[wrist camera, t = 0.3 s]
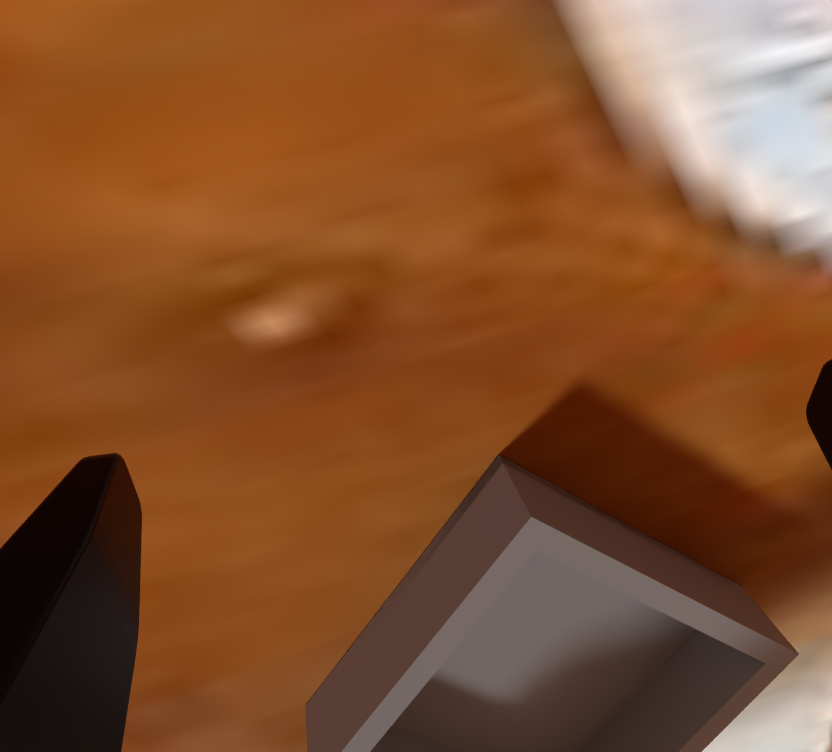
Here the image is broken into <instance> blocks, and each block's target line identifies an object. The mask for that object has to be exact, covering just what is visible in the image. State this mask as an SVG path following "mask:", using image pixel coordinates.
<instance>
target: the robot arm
mask: <svg viewBox="0 0 832 752" xmlns="http://www.w3.org/2000/svg"><path fill="white" fill-rule="evenodd" d="M806 416H807V421H808V424H809V426H810V428H811V430H812V432H813V434H814V436H815V438H816V440H817V442H818V444H819V446H820V448H821V450H822V452H823V454H824V456H825V458H826V460H827V462H828V464H829V466H830V468H831V470H832V359H831V360H829V361H827V362H826V363H825V364H824V365H823V367H822V369H821V372H820V374H819V377H818V379H817V381H816V384H815V386H814V389H813V391H812V394H811V396H810V399H809V401H808V404H807V408H806ZM141 533H142V512H141V505H140V501H139V498H138V495H137V492H136V490H135V487H134V484H133V482H132V479H131V476H130V474H129V471H128V469H127V466H126V463H125V461H124V459H123V458H122V457H121V455H119V454H116V453H111V454H103V455H96V456H88V457H85V458H83V459H82V460H80V461H79V462H78V463H77V464H76V465H75V466H74V467H73V469H72V470H71V471H70V472H69V473H68V474H67V475H66V476H65V477H64V479H63V480H62V481H61V482H60V483H59V484H58V485H57V486H56V487H55V489H54V490H53V491H52V492H51V493H50V494H49V495H48V496H47V497H46V499H45V500H44V501H43V502H42V503H41V504H40V505H39V506H38V507H37V508H36V510H35V511H34V512H33V513H32V514H31V515H30V516H29V517H28V518H27V520H26V521H25V522H24V523H23V524H22V525H21V526H20V527H19V528H18V530H17V531H16V532H15V533H14V534H13V535H12V536H11V537H10V538H9V539H8V541H7V542H6V543H5V544H4V545H3V546H2V547H1V548H0V752H121V749H122V742H123V736H124V729H125V723H126V716H127V710H128V703H129V696H130V690H131V683H132V677H133V670H134V664H135V657H136V649H137V641H138V630H139V604H140V568H141Z"/></svg>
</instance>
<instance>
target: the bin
mask: <svg viewBox="0 0 832 752" xmlns="http://www.w3.org/2000/svg"><path fill="white" fill-rule="evenodd" d="M798 655H799V653H798V652H797V651H796V650H795V649H794V648H793V646H792V645H791V644H790V643H789V642H788V640H787V639H786V638H785V637H784V636H783V635H782V633H781V632H780V631H779V630H778V629H777V627H776V626H775V625H774V624H773V623H772V621H771V620H770V619H769V618H768V617H767V616H766V614H765V613H764V612H763V611H762V610H761V608H760V607H759V606H758V605H757V604H756V603H755V601H754V600H753V599H752V598H751V597H750V595H749V594H748V593H747V592H746V591H745V590H744V588H743V587H742V586H740V585H738V584H736V583H734V582H733V581H731V580H729V579H727V578H725V577H723V576H721V575H720V574H718V573H716V572H714V571H712V570H710V569H709V568H707V567H705V566H703V565H701V564H699V563H697V562H696V561H694V560H692V559H690V558H688V557H686V556H685V555H683V554H681V553H679V552H677V551H675V550H673V549H672V548H670V547H668V546H666V545H664V544H662V543H661V542H659V541H657V540H655V539H653V538H651V537H649V536H648V535H646V534H644V533H642V532H640V531H638V530H636V529H635V528H633V527H631V526H629V525H627V524H625V523H624V522H622V521H620V520H618V519H616V518H614V517H612V516H611V515H609V514H607V513H605V512H603V511H601V510H600V509H598V508H596V507H594V506H592V505H590V504H588V503H587V502H585V501H583V500H581V499H579V498H577V497H576V496H574V495H572V494H570V493H568V492H566V491H564V490H563V489H561V488H559V487H557V486H555V485H553V484H551V483H550V482H548V481H546V480H544V479H542V478H540V477H539V476H537V475H535V474H533V473H531V472H529V471H527V470H526V469H524V468H522V467H520V466H518V465H516V464H515V463H513V462H511V461H509V460H507V459H505V458H503V457H502V456H500V455H498V456H497V458H496V459H495V460H494V462H493V463H492V464H491V466H490V467H489V468H488V469H487V471H486V472H485V473H484V475H483V476H482V477H481V479H480V480H479V481H478V482H477V484H476V485H475V486H474V488H473V489H472V490H471V492H470V493H469V494H468V495H467V497H466V498H465V499H464V501H463V502H462V503H461V504H460V506H459V507H458V508H457V510H456V511H455V512H454V514H453V515H452V516H451V517H450V519H449V520H448V521H447V523H446V524H445V525H444V527H443V528H442V529H441V530H440V532H439V533H438V534H437V536H436V537H435V538H434V540H433V541H432V542H431V543H430V545H429V546H428V547H427V549H426V550H425V551H424V553H423V554H422V555H421V556H420V558H419V559H418V560H417V562H416V563H415V564H414V566H413V567H412V568H411V569H410V571H409V572H408V573H407V575H406V576H405V577H404V579H403V580H402V581H401V582H400V584H399V585H398V586H397V588H396V589H395V590H394V592H393V593H392V594H391V595H390V597H389V598H388V599H387V601H386V602H385V603H384V604H383V606H382V607H381V608H380V610H379V611H378V612H377V614H376V615H375V616H374V617H373V619H372V620H371V621H370V623H369V624H368V625H367V627H366V628H365V629H364V630H363V632H362V633H361V634H360V636H359V637H358V638H357V640H356V641H355V642H354V643H353V645H352V646H351V647H350V649H349V650H348V651H347V653H346V654H345V655H344V656H343V658H342V659H341V660H340V662H339V663H338V664H337V666H336V667H335V668H334V669H333V671H332V672H331V673H330V675H329V676H328V677H327V679H326V680H325V681H324V682H323V684H322V685H321V686H320V688H319V689H318V690H317V692H316V693H315V694H314V695H313V697H312V698H311V699H310V701H309V702H308V703H307V704H306V726H307V752H702V751H703V750H704V749H705V748H706V747H707V746H708V745H709V744H710V743H711V742H712V741H713V740H714V739H715V738H716V737H717V736H718V735H719V734H720V733H721V732H722V731H723V730H724V729H725V728H726V727H727V726H728V725H729V724H730V723H731V722H732V721H733V720H734V719H735V718H736V717H737V716H738V715H739V714H740V713H741V712H742V711H743V710H744V709H745V708H746V707H747V706H748V705H749V704H750V703H751V702H752V701H753V700H754V699H755V698H756V697H757V696H758V695H759V694H760V693H761V692H762V691H763V690H764V689H765V688H766V687H767V686H768V685H769V684H770V683H771V682H772V681H773V680H774V679H775V678H776V677H777V676H778V675H779V674H780V673H781V672H782V671H783V670H784V669H785V668H786V667H787V666H788V665H789V664H790V663H791V662H792V661H793V660H794V659H795V658H796V657H797V656H798Z"/></svg>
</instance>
